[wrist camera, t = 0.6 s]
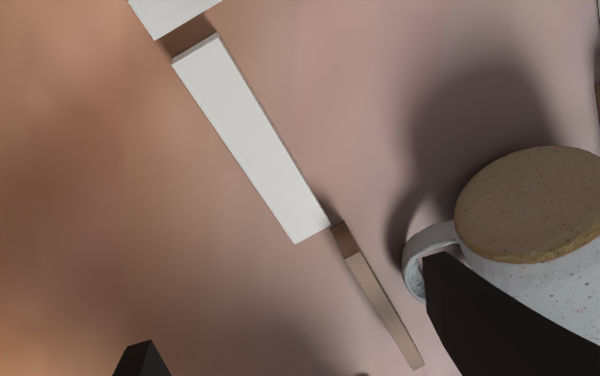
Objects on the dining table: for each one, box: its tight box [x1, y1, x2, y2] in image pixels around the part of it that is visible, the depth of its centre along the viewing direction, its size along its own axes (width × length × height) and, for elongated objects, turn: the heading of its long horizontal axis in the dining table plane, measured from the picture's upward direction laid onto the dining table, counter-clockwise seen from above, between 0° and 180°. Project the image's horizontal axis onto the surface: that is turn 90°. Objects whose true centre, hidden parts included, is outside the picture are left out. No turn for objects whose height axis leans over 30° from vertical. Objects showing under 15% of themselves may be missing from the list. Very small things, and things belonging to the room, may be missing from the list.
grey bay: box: [128, 0, 600, 244], centre depth 18 cm, size 12×19×1 cm, turn 117°
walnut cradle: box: [331, 83, 600, 371], centre depth 24 cm, size 10×15×2 cm, turn 117°
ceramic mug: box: [402, 146, 600, 346], centre depth 22 cm, size 11×8×8 cm
